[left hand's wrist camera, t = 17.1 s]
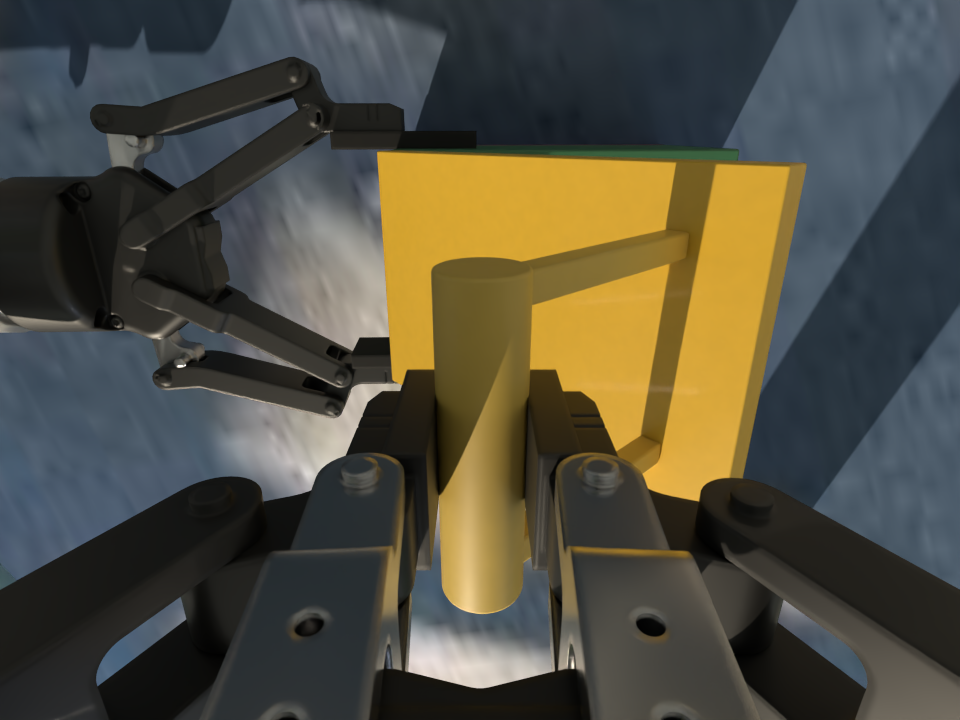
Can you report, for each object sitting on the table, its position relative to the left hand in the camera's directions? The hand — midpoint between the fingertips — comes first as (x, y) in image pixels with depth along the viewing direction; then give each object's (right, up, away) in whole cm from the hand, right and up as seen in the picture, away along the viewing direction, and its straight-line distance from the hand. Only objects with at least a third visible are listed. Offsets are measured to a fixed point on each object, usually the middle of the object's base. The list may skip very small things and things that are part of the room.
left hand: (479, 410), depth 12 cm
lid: (+2, +3, +7) cm, 8 cm away
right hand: (0, +6, +16) cm, 18 cm away
